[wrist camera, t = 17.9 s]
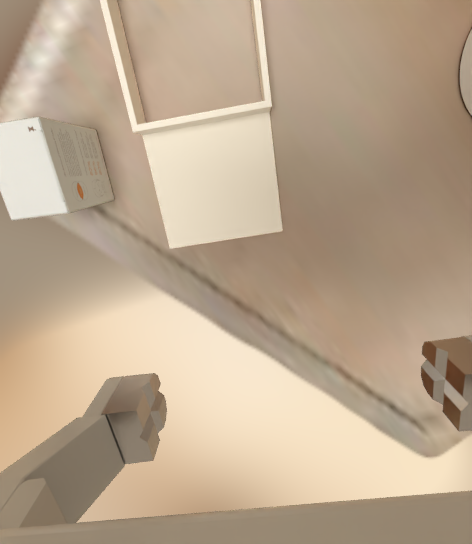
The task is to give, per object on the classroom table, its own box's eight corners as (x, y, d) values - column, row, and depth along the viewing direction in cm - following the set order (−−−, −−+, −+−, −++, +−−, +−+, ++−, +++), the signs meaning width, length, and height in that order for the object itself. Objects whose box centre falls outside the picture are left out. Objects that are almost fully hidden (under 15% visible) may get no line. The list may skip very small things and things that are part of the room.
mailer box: (251, -42, 28) (252, -69, 25) (282, 230, 37) (286, 236, 34) (108, -10, 29) (91, -32, 26) (170, 247, 38) (163, 255, 35)
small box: (50, 135, 34) (-29, 123, 24) (97, 128, 34) (37, 113, 24) (72, 206, 37) (8, 222, 27) (116, 201, 36) (68, 214, 26)
